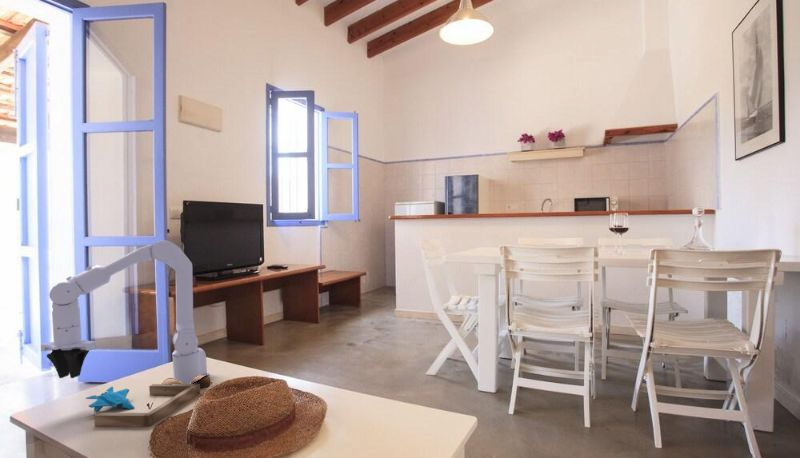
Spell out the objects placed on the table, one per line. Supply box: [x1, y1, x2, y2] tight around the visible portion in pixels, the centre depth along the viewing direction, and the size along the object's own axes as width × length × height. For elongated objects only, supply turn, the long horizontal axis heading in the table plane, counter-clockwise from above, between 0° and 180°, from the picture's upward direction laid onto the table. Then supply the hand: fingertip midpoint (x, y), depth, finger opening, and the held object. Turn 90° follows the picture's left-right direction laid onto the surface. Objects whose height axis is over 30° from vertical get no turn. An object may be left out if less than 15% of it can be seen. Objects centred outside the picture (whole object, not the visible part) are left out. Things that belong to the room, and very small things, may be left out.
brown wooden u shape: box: [93, 383, 201, 427], centre depth 103 cm, size 19×14×2 cm
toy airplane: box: [85, 386, 136, 412], centre depth 105 cm, size 12×10×4 cm
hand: (69, 376), depth 106 cm, fingers open, 3 cm apart
